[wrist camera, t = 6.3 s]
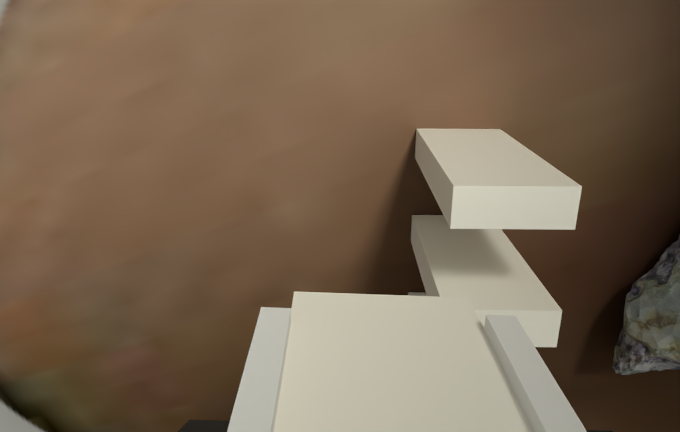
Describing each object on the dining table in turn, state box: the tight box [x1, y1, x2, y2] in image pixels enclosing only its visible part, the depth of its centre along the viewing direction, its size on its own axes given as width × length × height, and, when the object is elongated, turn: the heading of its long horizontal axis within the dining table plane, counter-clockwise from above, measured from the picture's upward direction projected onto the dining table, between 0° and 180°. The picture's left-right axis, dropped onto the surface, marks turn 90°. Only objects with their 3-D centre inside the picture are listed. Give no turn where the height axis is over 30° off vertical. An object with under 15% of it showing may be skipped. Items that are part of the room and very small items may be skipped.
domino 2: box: [415, 129, 582, 230], centre depth 27 cm, size 2×5×12 cm, turn 90°
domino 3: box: [411, 215, 562, 347], centre depth 29 cm, size 2×5×12 cm, turn 90°
